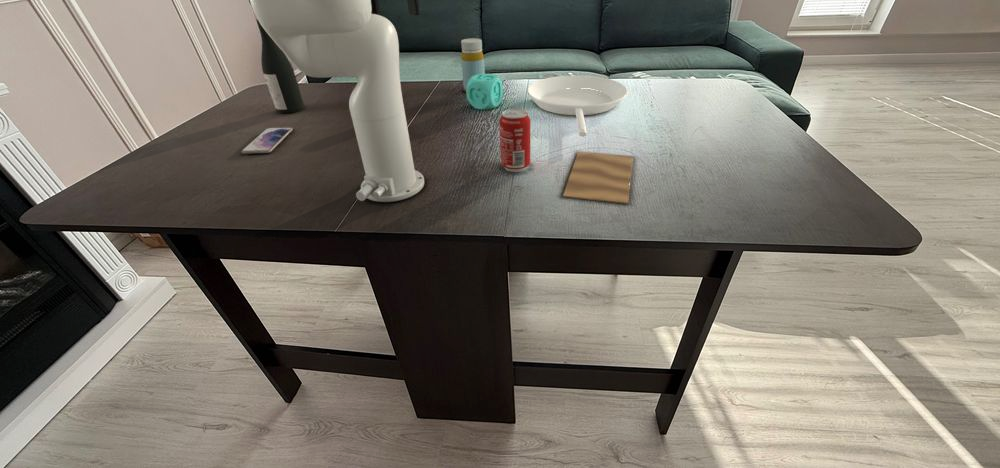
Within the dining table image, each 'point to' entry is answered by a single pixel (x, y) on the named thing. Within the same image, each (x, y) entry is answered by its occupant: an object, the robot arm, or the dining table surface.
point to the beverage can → (515, 140)
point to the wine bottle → (279, 75)
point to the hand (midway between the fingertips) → (396, 17)
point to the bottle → (471, 59)
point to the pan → (577, 96)
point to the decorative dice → (484, 91)
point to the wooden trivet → (600, 177)
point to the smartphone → (267, 140)
